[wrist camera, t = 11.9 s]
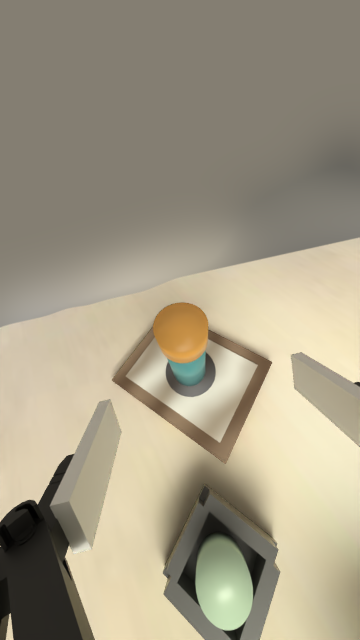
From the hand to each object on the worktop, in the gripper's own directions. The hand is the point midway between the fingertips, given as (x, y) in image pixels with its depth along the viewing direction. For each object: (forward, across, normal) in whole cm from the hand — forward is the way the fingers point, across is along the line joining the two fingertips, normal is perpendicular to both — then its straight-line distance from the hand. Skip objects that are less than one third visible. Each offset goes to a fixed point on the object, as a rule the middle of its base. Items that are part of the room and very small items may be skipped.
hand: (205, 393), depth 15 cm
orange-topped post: (+14, 0, -5) cm, 15 cm away
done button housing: (+2, -2, -19) cm, 19 cm away
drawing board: (+15, 0, -6) cm, 16 cm away
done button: (0, -2, -17) cm, 18 cm away
